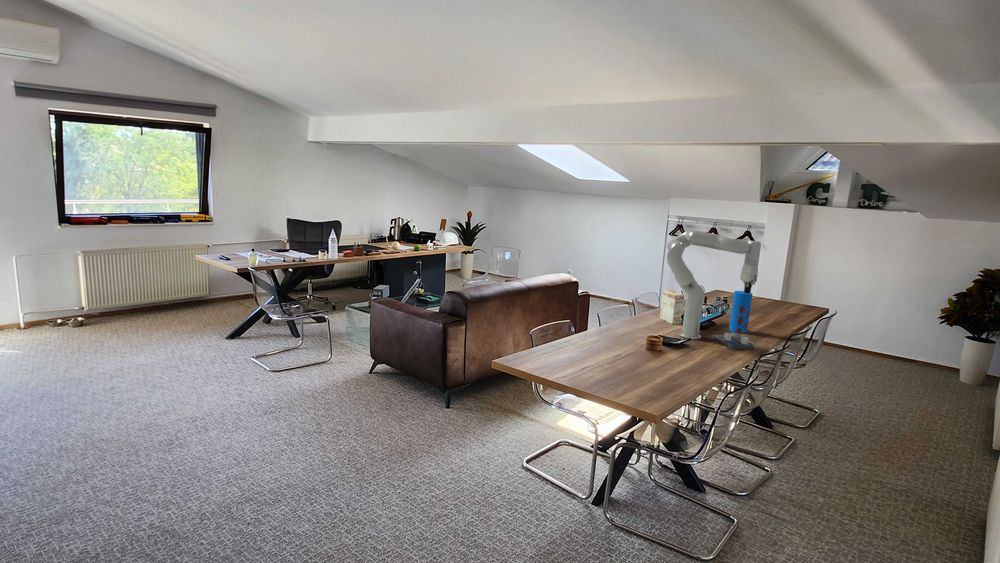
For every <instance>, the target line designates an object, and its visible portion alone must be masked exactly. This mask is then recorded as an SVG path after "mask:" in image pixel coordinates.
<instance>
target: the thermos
mask: <svg viewBox="0 0 1000 563" xmlns="http://www.w3.org/2000/svg"><path fill="white" fill-rule="evenodd" d="M732 297H733V299H732V304H731V305H732V306H731V313H730V319H729V320H730V321H729V325H728V326H729V327H728V328H729V329H728V330H729V332H730V331H731V333H735V334H738V333H739V334H747V332H748V328H749V321H750V316H751V315H750V314H751V309H752V308H751V307H752V302H753V292H750V294H747V293H744V290H734V293H733V296H732Z"/></svg>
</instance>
